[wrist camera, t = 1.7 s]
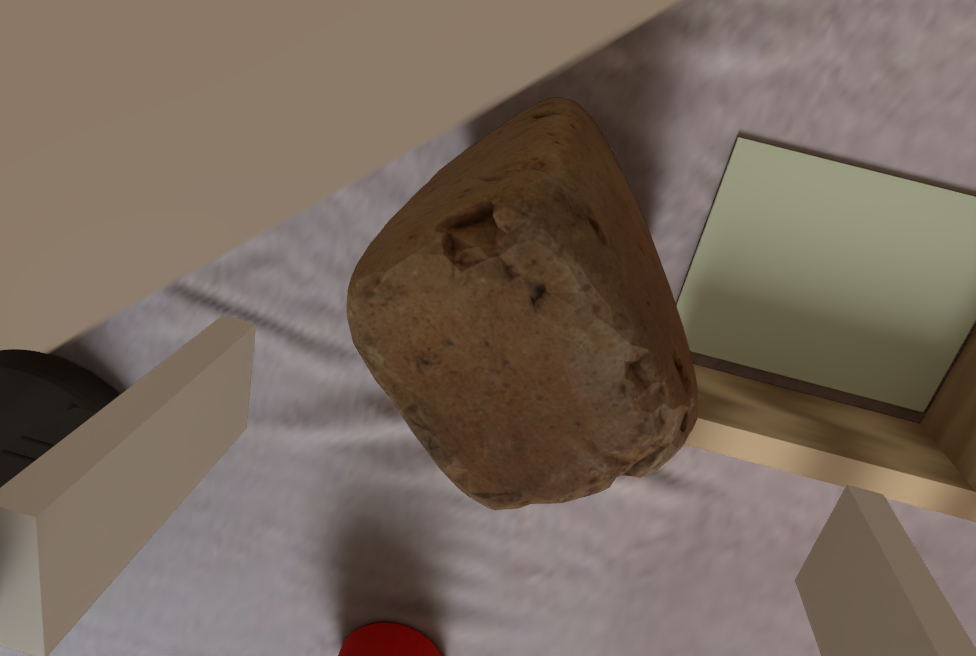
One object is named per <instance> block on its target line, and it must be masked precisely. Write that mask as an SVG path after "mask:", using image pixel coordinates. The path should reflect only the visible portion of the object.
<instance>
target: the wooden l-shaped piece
mask: <svg viewBox="0 0 976 656" xmlns="http://www.w3.org/2000/svg"><path fill="white" fill-rule="evenodd" d="M693 366H694V370H695V374H696V381H697V387H698V409H697V421H696V423H695V426H694V428H693V430H692V432H690V434H689V436H688V438H687V440H686V442H685V444H686V445H690V446H693V447H697V448H701V449H704V450H708V451H712V452H716V453H719V454H723V455H727V456H731V457H734V458H738V459H742V460H746V461H749V462H753V463H757V464H761V465H764V466H768V467H772V468H776V469H779V470H783V471H787V472H791V473H794V474H798V475H802V476H805V477H809V478H813V479H817V480H820V481H824V482H828V483H832V484H835V485H839V486H843V487H846V486H847V485H851V486H854V487H858V488H862V489H866V490H869V491H873V492H877V493H880V494H883V495H884V497H885V498H888V499H892V500H895V501H899V502H903V503H906V504H910V505H914V506H918V507H921V508H925V509H929V510H933V511H936V512H940V513H944V514H948V515H951V516H955V517H959V518H963V519H966V520H970V521H974V522H976V326H975V328H974V330H973V331H972V333H971V335H970V337H969V338H968V340H967V342H966V344H965V345H964V347H963V349H962V351H961V352H960V354H959V356H958V358H957V359H956V361H955V363H954V365H953V366H952V368H951V370H950V372H949V373H948V375H947V377H946V379H945V380H944V382H943V384H942V386H941V387H940V389H939V391H938V393H937V394H936V396H935V398H934V400H933V401H932V403H931V405H930V407H929V408H928V410H927V412H926V414H925V415H924V417H923V419H922V421H921V422H920V424H919V423H916V422H912V421H908V420H904V419H900V418H897V417H893V416H889V415H885V414H881V413H878V412H874V411H870V410H866V409H862V408H859V407H855V406H851V405H847V404H843V403H840V402H836V401H832V400H828V399H824V398H821V397H817V396H813V395H809V394H805V393H802V392H798V391H794V390H790V389H786V388H783V387H779V386H775V385H771V384H767V383H764V382H760V381H756V380H752V379H748V378H745V377H741V376H737V375H733V374H729V373H726V372H722V371H718V370H714V369H710V368H707V367H703V366H699V365H695V364H693Z"/></svg>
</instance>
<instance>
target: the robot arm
mask: <svg viewBox="0 0 976 656" xmlns="http://www.w3.org/2000/svg"><path fill="white" fill-rule="evenodd" d="M255 331H256V324H253V323H250V322H246V321H242V320H238V319H235V318H231V317H227V316H224V315H223V316H221V317H220V318H219V319H217V320H216V321H215V322H214V323H212V324H211V325H210V326H208V327H207V328H206V329H205V330H203V331H202V332H201V333H199V334H198V335H197V336H195V337H194V338H193V339H192V340H190V341H189V342H188V343H186V344H185V345H184V346H183V347H181V348H180V349H179V350H177V351H176V352H175V353H174V354H172V355H171V356H170V357H168V358H167V359H166V360H165V361H163V362H162V363H161V364H159V365H158V366H157V367H156V368H154V369H153V370H152V371H150V372H149V373H148V374H146V375H145V376H144V377H143V378H141V379H140V380H139V381H137V382H136V383H135V384H134V385H132V386H131V387H130V388H128V389H127V390H126V391H125V392H123V393H122V394H121V395H118V394H117V393H116V392H115V391H114V390H112V389H111V388H110V387H109V386H108V385H106V384H105V383H104V382H102V381H101V380H100V379H98V378H97V377H95V376H94V375H92V374H91V373H89V372H88V371H86V370H84V369H83V368H81V367H79V366H77V365H75V364H73V363H71V362H68V361H66V360H64V359H61V358H58V357H55V356H52V355H49V354H45V353H41V352H36V351H29V350H14V349H13V350H1V351H0V646H2V647H6V648H9V649H12V650H16V651H19V652H22V653H26V654H29V655H33V656H48V655H49V654H50V653H51V652H52V650H53V649H54V648H55V647H56V646H57V645H58V644H59V642H60V641H61V640H62V639H63V638H64V637H65V635H66V634H67V633H68V632H69V631H70V630H71V629H72V627H73V626H74V625H75V624H76V623H77V622H78V621H79V619H80V618H81V617H82V616H83V615H84V614H85V613H86V611H87V610H88V609H89V608H90V607H91V606H92V605H93V603H94V602H95V601H96V600H97V599H98V598H99V597H100V595H101V594H102V593H103V592H104V591H105V590H106V588H107V587H108V586H109V585H110V584H111V583H112V582H113V580H114V579H115V578H116V577H117V576H118V575H119V574H120V572H121V571H122V570H123V569H124V568H125V567H126V566H127V564H128V563H129V562H130V561H131V560H132V559H133V558H134V556H135V555H136V554H137V553H138V552H139V551H140V550H141V548H142V547H143V546H144V545H145V544H146V543H147V541H148V540H149V539H150V538H151V537H152V536H153V535H154V533H155V532H156V531H157V530H158V529H159V528H160V527H161V525H162V524H163V523H164V522H165V521H166V520H167V519H168V517H169V516H170V515H171V514H172V513H173V512H174V511H175V509H176V508H177V507H178V506H179V505H180V504H181V503H182V501H183V500H184V499H185V498H186V497H187V496H188V495H189V493H190V492H191V491H192V490H193V489H194V488H195V486H196V485H197V484H198V483H199V482H200V481H201V480H202V478H203V477H204V476H205V475H206V474H207V473H208V472H209V470H210V469H211V468H212V467H213V466H214V465H215V464H216V462H217V461H218V460H219V459H220V458H221V457H222V456H223V454H224V453H225V452H226V451H227V450H228V449H229V448H230V446H231V445H232V444H233V443H234V442H235V441H236V439H237V438H238V437H239V436H240V435H241V434H242V433H243V431H244V430H245V429H246V428H247V418H248V407H249V396H250V385H251V374H252V363H253V352H254V342H255ZM795 582H796V584H797V587H798V590H799V593H800V596H801V599H802V602H803V604H804V607H805V610H806V613H807V616H808V619H809V622H810V624H811V627H812V630H813V633H814V636H815V639H816V642H817V644H818V647H819V650H820V653H821V656H976V648H975V646H974V645H973V643H972V641H971V640H970V638H969V636H968V635H967V633H966V631H965V630H964V628H963V626H962V625H961V623H960V622H959V620H958V618H957V617H956V615H955V613H954V612H953V610H952V608H951V607H950V605H949V603H948V602H947V600H946V598H945V597H944V595H943V593H942V592H941V590H940V588H939V587H938V585H937V583H936V582H935V580H934V578H933V577H932V575H931V573H930V572H929V570H928V568H927V567H926V565H925V563H924V562H923V560H922V558H921V557H920V555H919V553H918V552H917V550H916V548H915V547H914V545H913V543H912V542H911V540H910V538H909V537H908V535H907V533H906V532H905V530H904V528H903V527H902V525H901V523H900V522H899V520H898V518H897V517H896V515H895V513H894V512H893V510H892V508H891V507H890V505H889V503H888V502H887V500H886V498H885V497H884V495H883V494H880V493H877V492H873V491H869V490H866V489H862V488H858V487H854V486H851V485H847V486H846V488H845V489H844V491H843V493H842V495H841V497H840V499H839V500H838V502H837V504H836V506H835V508H834V510H833V511H832V513H831V515H830V517H829V519H828V521H827V522H826V524H825V526H824V528H823V530H822V532H821V533H820V535H819V537H818V539H817V541H816V543H815V544H814V546H813V548H812V550H811V552H810V554H809V555H808V557H807V559H806V561H805V563H804V565H803V566H802V568H801V570H800V572H799V574H798V576H797V578H796V579H795Z"/></svg>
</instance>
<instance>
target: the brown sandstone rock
mask: <svg viewBox="0 0 976 656" xmlns="http://www.w3.org/2000/svg"><path fill="white" fill-rule="evenodd" d="M347 318H348V323H349V327H350V331H351V335H352V340H353V343H354V345H355V347H356V349H357V350H358V352H359V354H360V355H361V357H362V359H363V360H364V362H365V364H366V365H367V367H368V369H369V370H370V372H371V374H372V375H373V377H374V379H375V380H376V381H377V383H378V384H379V385H380V386H381V388H382V389H383V390H384V391H385V392H386V394H387V395H388V396H389V397H390V399H391V400H392V401H393V403H394V404H395V406H396V407H397V409H398V410H399V412H400V413H401V415H402V417H403V418H404V420H405V421H406V423H407V424H408V426H409V427H410V429H411V431H412V432H413V433H414V435H415V436H416V437H417V439H418V440H419V441H420V443H421V444H422V445H423V447H424V448H425V449H426V451H427V452H428V453H429V455H430V456H431V457H432V459H433V460H434V461H435V463H436V464H437V465H438V467H439V468H440V469H441V470H442V471H443V473H444V474H445V475H446V476H447V477H448V478H449V479H450V480H451V481H452V482H453V483H454V484H455V485H456V486H457V487H458V488H459V489H460V490H461V491H463V492H464V493H465V494H466V495H467V496H468V497H470V498H472V499H474V500H475V501H477V502H479V503H480V504H482V505H484V506H486V507H488V508H490V509H493V510H503V509H517V508H520V507H523V506H526V505H529V504H551V503H564V502H567V501H571V500H575V499H578V498H582V497H585V496H589V495H592V494H596V493H599V492H601V491H603V490H605V489H607V488H609V487H610V486H611V484H612V483H613V481H614V480H615V478H616V477H618V476H620V475H626V476H633V477H639V478H641V477H643V476H645V475H647V474H650V473H652V472H654V471H656V470H658V469H659V468H660V467H661V466H662V465H664V464H665V463H666V462H667V461H669V460H670V459H671V458H672V457H673V456H674V455H675V454H676V453H677V452H678V451H679V449H680V448H681V447H682V446H683V445H684V444H685V442H686V440H687V438H688V436H689V434H690V432H692V430H693V428H694V426H695V423H696V421H697V409H698V387H697V381H696V374H695V370H694V366H693V362H692V358H691V354H690V349H689V345H688V341H687V338H686V334H685V331H684V328H683V325H682V321H681V318H680V315H679V312H678V309H677V306H676V303H675V300H674V297H673V295H672V292H671V289H670V286H669V283H668V280H667V278H666V275H665V272H664V269H663V267H662V264H661V261H660V258H659V256H658V253H657V250H656V248H655V245H654V243H653V240H652V237H651V234H650V232H649V229H648V227H647V225H646V223H645V220H644V218H643V216H642V213H641V211H640V208H639V206H638V203H637V201H636V199H635V197H634V194H633V192H632V190H631V188H630V186H629V184H628V182H627V180H626V178H625V176H624V174H623V172H622V170H621V168H620V166H619V165H618V163H617V161H616V159H615V157H614V153H613V152H612V150H611V148H610V147H609V145H608V143H607V141H606V140H605V138H604V136H603V135H602V133H601V132H600V130H599V128H598V127H597V125H596V124H595V122H594V121H593V119H592V118H591V117H590V115H589V114H588V113H587V112H586V111H585V110H584V109H583V108H582V107H581V106H580V105H579V104H578V103H576V102H573V101H571V100H569V99H565V98H549V99H546V100H544V101H541V102H539V103H537V104H535V105H533V106H531V107H529V108H527V109H525V110H524V111H522V112H521V113H519V114H518V115H516V116H515V117H513V118H512V119H510V120H509V121H507V122H506V123H504V124H503V125H502V126H500V127H499V128H497V129H496V130H494V131H493V132H491V133H490V134H488V135H487V136H485V137H484V138H482V139H481V140H480V141H478V142H477V143H475V144H474V145H472V146H471V147H469V148H468V149H466V150H465V151H464V152H462V153H461V154H460V155H458V156H457V157H456V158H455V159H453V160H452V161H451V162H449V163H448V164H447V165H446V166H444V167H443V168H442V169H441V170H439V171H438V172H437V173H436V174H435V175H434V176H433V177H432V178H431V180H430V181H429V182H428V183H427V184H426V185H424V186H423V187H422V188H421V189H420V190H419V191H418V192H417V193H416V194H415V195H414V196H413V197H412V198H411V199H410V200H409V201H408V202H407V203H406V204H405V206H404V207H403V208H401V209H400V210H399V211H398V212H397V213H396V214H395V215H394V216H393V217H392V218H391V219H390V220H389V222H388V223H387V224H386V225H385V226H384V228H383V229H382V230H381V232H380V233H379V234H378V235H377V237H376V238H375V239H374V240H373V241H372V242H371V243H370V245H369V246H368V248H367V249H366V251H365V252H364V254H363V256H362V257H361V259H360V260H359V262H358V263H357V265H356V268H355V270H354V272H353V274H352V277H351V280H350V284H349V287H348V295H347Z"/></svg>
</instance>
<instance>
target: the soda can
mask: <svg viewBox="0 0 976 656" xmlns="http://www.w3.org/2000/svg"><path fill="white" fill-rule="evenodd" d="M338 656H442V655H441V654H440V652H439V651H438V649H437V648H436V646H435V645H434V644H433V643H432V642H431V641H430V640H429V639H428V638H427V637H426V636H424V635H423V634H422V633H420V632H419V631H417V630H415V629H413V628H411V627H408V626H405V625H402V624H397V623H389V622H381V623H373V624H370V625H367V626H364V627H361V628H359V629H357V630H355V631H354V632H352V633H351V634H350V635H349V636H348V637H347V638H346V640H345V641H344V643H343V645H342V647H341V650H340V652H339V655H338Z"/></svg>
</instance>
